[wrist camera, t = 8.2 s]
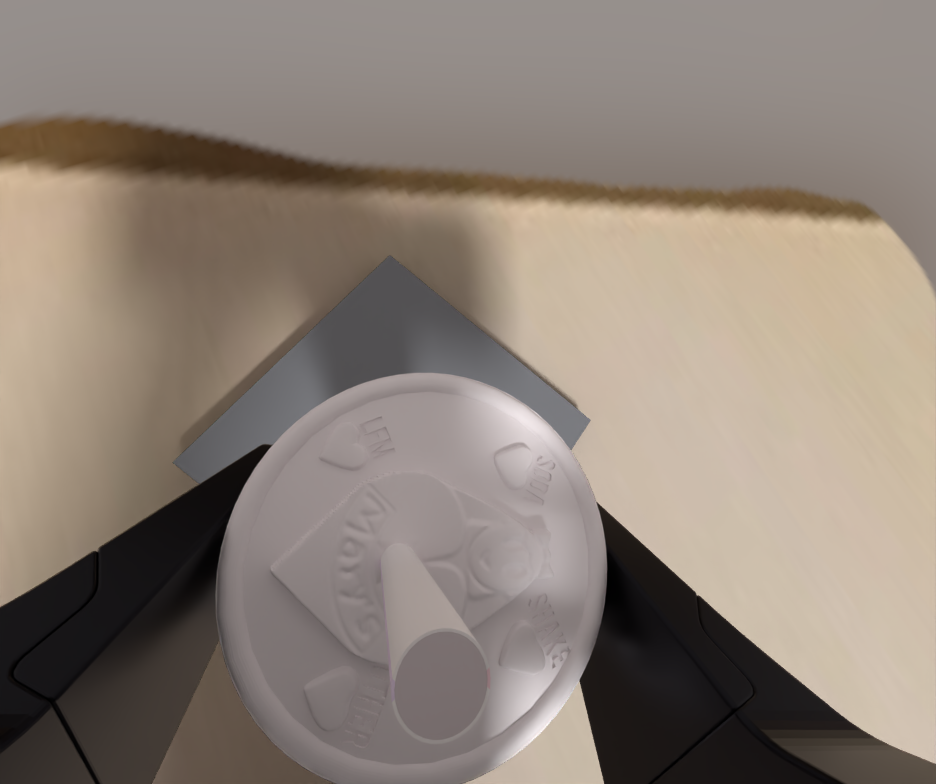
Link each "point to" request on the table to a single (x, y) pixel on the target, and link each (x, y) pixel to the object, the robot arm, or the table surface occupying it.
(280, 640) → the smoothie
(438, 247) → the table surface
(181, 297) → the table surface
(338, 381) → the placemat
